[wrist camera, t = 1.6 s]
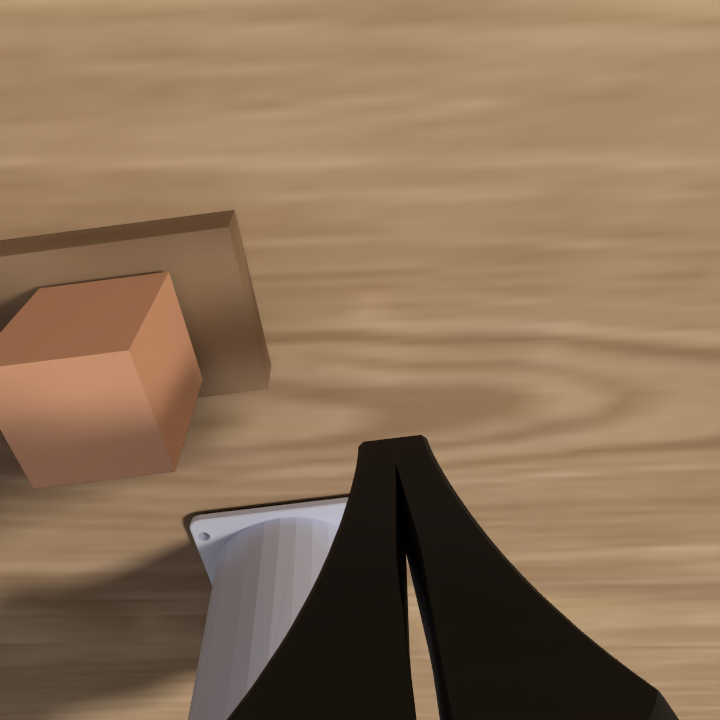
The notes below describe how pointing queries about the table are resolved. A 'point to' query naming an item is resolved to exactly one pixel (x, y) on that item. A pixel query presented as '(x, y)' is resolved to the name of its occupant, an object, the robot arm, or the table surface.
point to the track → (157, 255)
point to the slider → (98, 381)
